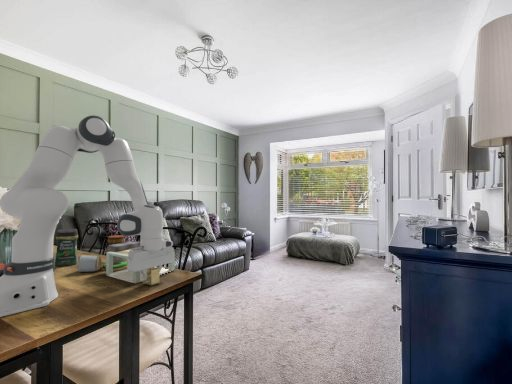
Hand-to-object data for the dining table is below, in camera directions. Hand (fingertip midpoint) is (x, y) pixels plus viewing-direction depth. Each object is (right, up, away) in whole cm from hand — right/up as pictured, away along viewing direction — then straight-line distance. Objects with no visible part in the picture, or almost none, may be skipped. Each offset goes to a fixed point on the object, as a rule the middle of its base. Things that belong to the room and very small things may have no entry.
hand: (151, 277), depth 110 cm
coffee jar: (-56, -3, +29) cm, 63 cm away
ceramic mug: (-37, -3, +19) cm, 41 cm away
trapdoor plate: (-13, +5, +16) cm, 22 cm away
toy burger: (-30, -3, +28) cm, 41 cm away
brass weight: (0, -2, 0) cm, 2 cm away
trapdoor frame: (-10, -3, +14) cm, 18 cm away
